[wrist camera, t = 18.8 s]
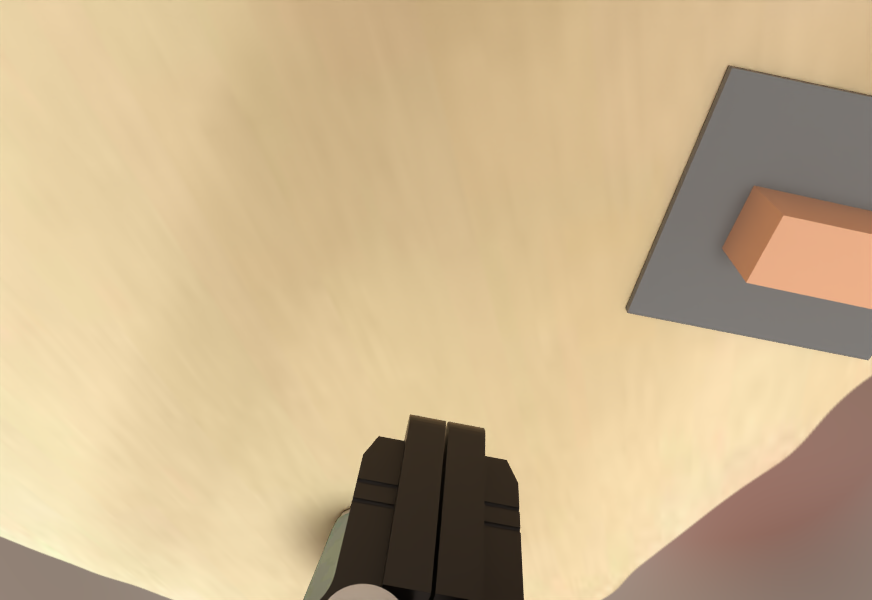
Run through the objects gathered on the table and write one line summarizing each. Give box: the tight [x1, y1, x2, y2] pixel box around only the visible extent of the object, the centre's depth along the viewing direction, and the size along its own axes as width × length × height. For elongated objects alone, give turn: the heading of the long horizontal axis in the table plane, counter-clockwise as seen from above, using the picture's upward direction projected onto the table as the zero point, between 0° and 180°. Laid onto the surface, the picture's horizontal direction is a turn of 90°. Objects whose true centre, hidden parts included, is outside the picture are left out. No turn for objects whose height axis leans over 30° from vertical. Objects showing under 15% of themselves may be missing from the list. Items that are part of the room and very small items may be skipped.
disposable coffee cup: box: [303, 509, 350, 600], centre depth 53 cm, size 11×11×15 cm
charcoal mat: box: [626, 66, 872, 360], centre depth 39 cm, size 17×18×1 cm
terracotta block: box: [722, 186, 872, 309], centre depth 37 cm, size 4×4×12 cm
